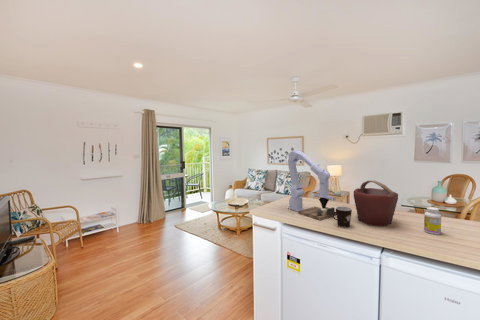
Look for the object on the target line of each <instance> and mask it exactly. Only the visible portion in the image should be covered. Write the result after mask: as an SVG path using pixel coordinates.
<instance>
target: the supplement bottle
mask: <svg viewBox="0 0 480 320" xmlns="http://www.w3.org/2000/svg"><path fill="white" fill-rule="evenodd" d="M439 212H440V209H439V208H437V207H431V206H430V207H426V212H424V216H423V219H424V221H423V231H424V232H426V233H428V234H432V235H440V234H441V233H442V215H441V214H440V213H439Z"/></svg>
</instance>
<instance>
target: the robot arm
mask: <svg viewBox="0 0 480 320" xmlns="http://www.w3.org/2000/svg"><path fill="white" fill-rule="evenodd" d="M299 161H302V162H304V163H305V164H306V165H308V166H309V167H310V170H311V171H312V172H313V173H314V174H315V175H316V176H317V178H318V180H319V193H314V194H313V197H315V198H318V200H319V202H320V204H321V208H326V207H327V204H328V203H329V201H335V196H331V195H329V192H330V191H329V185H330V184H329V183H330V181H329V179H330V177H331V174H330V172H329V171H328V170H326V169H325V168H323V167H321V166H320V164H319V163H314V161H312V160H311V159H310V158H309V157H308V156H307V155H306V154H305V152H303V151H302V150H291V151H290V152H289V153H288V159H287V165H288V166H287V167H288V169H289V175H290V181H291V187H290V193H289V194H290V197H289V199H288V203H289V204H288V205H289V208H288V209H289V210H292V211H295V212H298V211H300V210H303V209H304V208H303V196H304V194H305V191H304V189H303V186H302V185H301V184H300V178H299V175H298V170H297V162H299Z"/></svg>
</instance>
